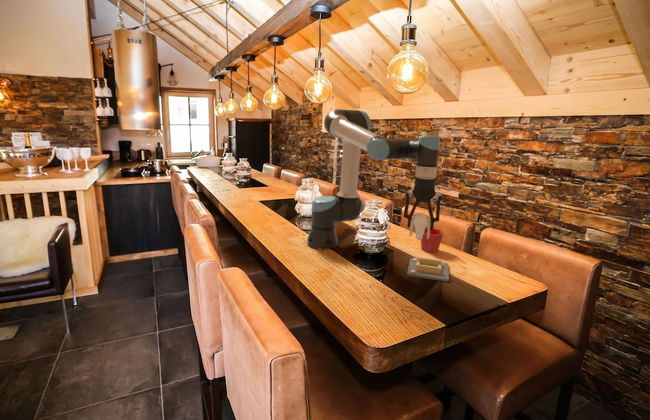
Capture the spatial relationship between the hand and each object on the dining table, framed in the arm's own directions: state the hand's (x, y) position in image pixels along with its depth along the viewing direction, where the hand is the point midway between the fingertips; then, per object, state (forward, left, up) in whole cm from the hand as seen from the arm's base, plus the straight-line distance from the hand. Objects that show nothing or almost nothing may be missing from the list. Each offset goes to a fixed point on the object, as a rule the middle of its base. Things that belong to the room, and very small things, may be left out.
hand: (419, 236), depth 138 cm
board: (+5, +9, -17) cm, 20 cm away
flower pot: (+5, +36, -17) cm, 40 cm away
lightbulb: (0, 0, -2) cm, 2 cm away
